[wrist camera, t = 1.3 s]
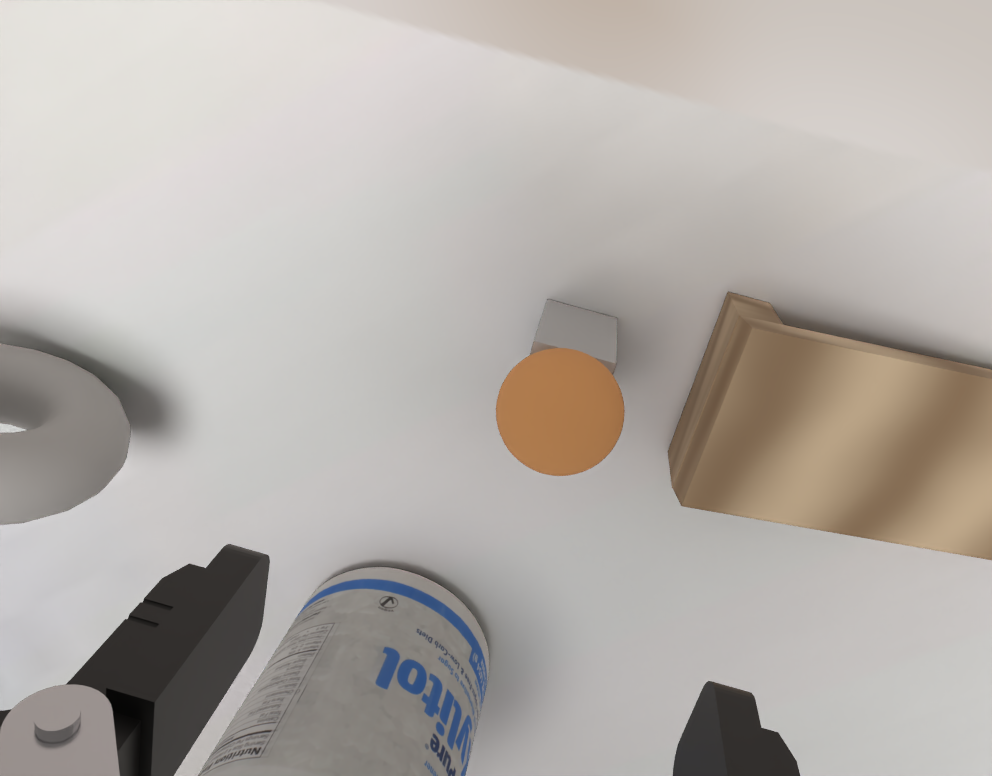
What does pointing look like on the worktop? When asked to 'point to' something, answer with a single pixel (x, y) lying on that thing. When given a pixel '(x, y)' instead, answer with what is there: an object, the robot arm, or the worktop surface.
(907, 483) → the ramp
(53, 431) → the donut
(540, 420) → the ball
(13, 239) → the worktop surface
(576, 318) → the hollow grey box
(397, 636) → the supplement tub
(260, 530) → the worktop surface
